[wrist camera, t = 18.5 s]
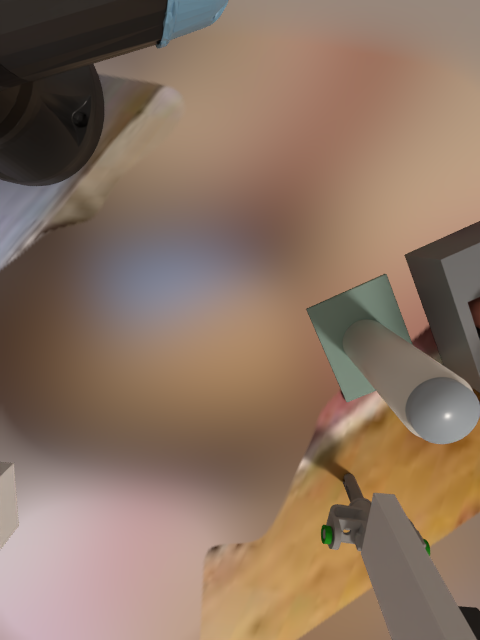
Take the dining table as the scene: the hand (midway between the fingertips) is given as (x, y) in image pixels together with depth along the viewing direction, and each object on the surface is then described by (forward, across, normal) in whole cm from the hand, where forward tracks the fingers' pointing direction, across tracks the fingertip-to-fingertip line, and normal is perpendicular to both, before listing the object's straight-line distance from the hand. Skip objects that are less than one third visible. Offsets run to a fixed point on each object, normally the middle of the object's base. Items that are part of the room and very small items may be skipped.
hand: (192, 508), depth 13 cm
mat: (+27, +15, 0) cm, 31 cm away
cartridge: (+26, +15, 0) cm, 30 cm away
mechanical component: (+27, +16, -18) cm, 36 cm away
